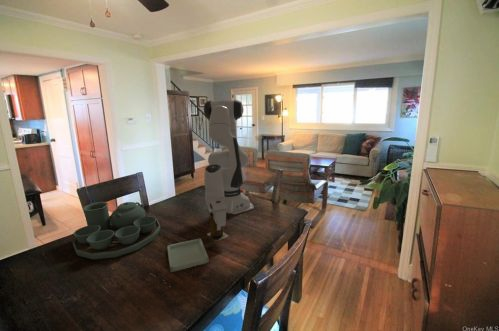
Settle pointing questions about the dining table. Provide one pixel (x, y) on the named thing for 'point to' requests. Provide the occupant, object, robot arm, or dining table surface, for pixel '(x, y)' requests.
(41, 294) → the dining table surface
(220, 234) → the condiment
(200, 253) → the tray
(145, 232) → the tea set
